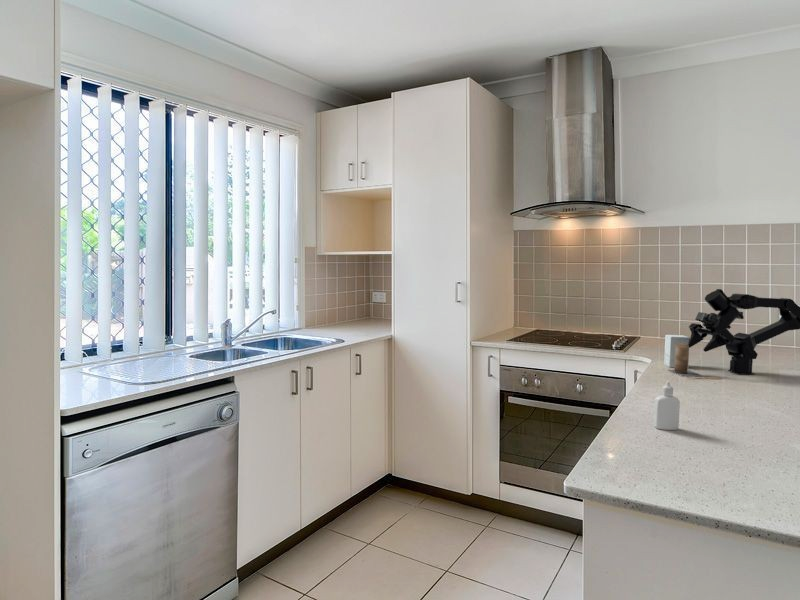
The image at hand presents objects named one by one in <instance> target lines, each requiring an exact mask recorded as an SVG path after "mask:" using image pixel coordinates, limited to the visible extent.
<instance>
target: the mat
mask: <svg viewBox="0 0 800 600" xmlns="http://www.w3.org/2000/svg"><path fill="white" fill-rule="evenodd" d="M670 371H671V372H670ZM668 372H670V373H672V372H673V373H672V374H675V372H674V369H668ZM677 374H678V373H676V374H675V375H677ZM680 375H681V376H680ZM677 376H680V377H682V376H704V375H703V374H700V373H697V372H695V371H692V370H689V369H688V370H687V374H678V375H677Z"/></svg>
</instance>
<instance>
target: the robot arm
mask: <svg viewBox="0 0 800 600" xmlns="http://www.w3.org/2000/svg"><path fill="white" fill-rule="evenodd" d="M704 301H705V302H706V303H707V304H708V305H709V306H710V308H712V309H713V311H715V312H718V313H715V312H710V313H706V312H701V311H698V313H697V314H696V316H695V321H698V322H700V323H696V322H693V323H690V325H689V326H688V329H689V331H690V332H691V335H690V340H689V342H688V345H689V349H690V348H692V347H693V346H695V345H696V344H698V343H700V342H702V341H703V340H704V339H705V338H706V337H707V336H711V339H710V340H709V341H708V343H707V344H706V345H705V347H703V352H709V351H713V350H715V349H717V348H719V347H722V346H725V348H726V350H727V353H728V356H730V357H731V358H730V361H729V369H727V371H728V372H730V373H734V374H736V375H755V372H753V360H756V359H757V357H758V353H757V352H756V350H755V348H756V346H758V345H760V344H761V343H764V342H766V341H768V340H771V339H772V338H775V337H777V336H779V335H781V334H784V333H786V332H789V331H794V330H795V331H796V330H800V306H799V305H798V304H797V303H796V302H795V301H794V300H793V299H791V298H789V297H788V298H787V297H780V298H776V297H775V298H774V297H760V296H759V297H758V296H756V295H752V294H746V293H736V292H735V293H732V295H730V296H727V295H726V294H725V292H724V290H722V289H721V288H716V290H713V291H711V292H710V293H707V294H706V295H705V297H704ZM756 308H775V309H778V311H779V315H780V316H781V317H780V318H779V320H777V321H776V322H774V323H770V324H768V325H767V326H763V327H762V328H760V329H758V330H756V331H753V332H751V333H744V332H738V333H737V332H736V333H735V334H734V335H733V334H732V333H731V331H730V329H731V328H732V326H731V325H732V323H733V322H734V321H735V320H736V319H739V320H744V319H745V318H744V315H743V314H744V311H739V309H740V310H751V309H756ZM701 323H702V324H701Z"/></svg>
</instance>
